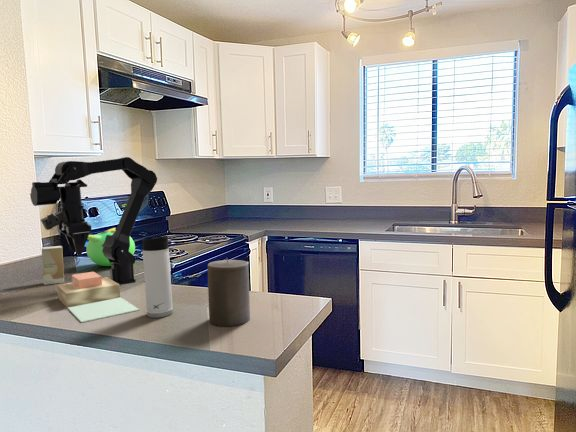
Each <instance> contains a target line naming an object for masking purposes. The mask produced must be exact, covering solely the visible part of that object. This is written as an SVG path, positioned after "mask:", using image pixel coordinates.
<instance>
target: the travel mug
mask: <svg viewBox="0 0 576 432" xmlns="http://www.w3.org/2000/svg"><path fill="white" fill-rule="evenodd" d="M141 241H142V243H141V244H142V257H143V259H142V260H143V274H144V288H145V290H144V291H145V303H146V304H145V305H146V316H147V317H148V318H153V319H154V318H155V319H159V318H165V317H169V316H171V315H172V314H173V312H174V310H173V295H172V279H171V277H172V276H171V262H170V259H171V258H170V247H169V236H168V235H161V236H157V237H151V238H150V239H148V238H147V239H146V238H145V239H142V240H141Z"/></svg>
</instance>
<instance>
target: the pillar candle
mask: <svg viewBox="0 0 576 432" xmlns="http://www.w3.org/2000/svg"><path fill="white" fill-rule="evenodd" d="M249 277H250V273H249V261H245V260H241V259H240V260H239V259H228V257H226V259H223V260H215V261H211V262H209V263H208V264H207V294H208V316H209V323H210V324H211V325H213V326H218V327H224V328H225V327H236V326H239V325H243V324H246V323H248V322H249V321H250V320H251V306H250V302H251V301H250V278H249Z"/></svg>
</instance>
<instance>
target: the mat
mask: <svg viewBox="0 0 576 432" xmlns="http://www.w3.org/2000/svg"><path fill="white" fill-rule="evenodd" d="M67 310H69V312H70V313H71V314H72V315H74V317H75V318H76V319H77V320H78V321H79V322H80V323H81V324H82V323H86V322H92V321H97V320H101V319H102V320H103V319H107V318H110V317H115V316H120V315H124V314H129V313H134V312H138V311H140V308H138V307H136V306H135V305H134V304H132V303H130V302H129V301H127V300H126V299H124V298H122V297H121V296H120V298H114V299H109V300H104V301H99V302H94V303H88V304H83V305H78V306H73V307H68V308H67Z"/></svg>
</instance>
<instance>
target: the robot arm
mask: <svg viewBox="0 0 576 432" xmlns="http://www.w3.org/2000/svg"><path fill="white" fill-rule="evenodd" d="M120 170H121V171H123V173H125V175H126V176H127V177H128V178H129V179H130V180H131V183H130V190H131V191H130V195H129V198H128V200H127V202H126V203H125V204H126V206H125V207H124V209H123V212H122V215H121V217H120V219H119V222H118V224H117V227H116V229H115V230H114V231H115V233H114V234H113V235H112V236H111V235H107V236H106V239H105V242H104V244H103V245H102V247H103V250H102V252H103V254H104V256H105V257H106V258H108V260H109V262H110V263H114V264H111V266H110V267H111V268H109V276H110V278H109V279H111V280H113V281H115V282H116V283H118V284H119V285H120V284H128V283H133V282H137V279H135V273H134V265H135V264H136V260H137V256H135V254H131V253H130V252H129V247H130V237H131V234H132V232H133V229H134V226H135V224H136V221H137V219H138V216H139V213H140V211H141V208H142V206H143V203H144V201H145V199H146V197H147V196H148V194H150V193H151V192H152V191H153V189H155V186H156V184H157V181H158V177H157V174H156V173H155V171H153V170H151V169H148V168H147V167H145V166H143V164H140V163H139V162H136V161H135V160H134V159H133V158H131V157H129V156H123V157H119V158H115V159H113V158H112V159H106V160H98V161H90V162H89V161H79V160H78V161H75V160H70V161H69V160H68V161H67V160H66V161H61V162H59V163H57V164H56V166H55V167H54V173H53V175H52V177H51V178H50V179H49V180H48V182H39V181H38V182H37V181H35V182H34V181H33V182H31V189H30V194H29V195H30V201H31V204H32V206H34V207H36V206H37V207H38V206H47V205H49V206H50V205H56V204H57V203H58V202H59V201H60V206H59V207H58V211H57V212H55V213H51V214H47V215H46V216H45V217H42V218H41V219H40V221H41V224H42V226H43V227H44V229H45V230H46V231H49V230H52V229H53V228H54V227H57V229H58V231H59V232H60V233H61V234H64V235H65V238H66V241H67V243H68V246H69V249H70V251H71V253H72V252H75V253H76V255H77V256H82V254H83V252H84V248H85V245H86V243H87V240H88V239H87V238H88V236H89V235H91V232H92V230H93V229H92V225H91V223H89V222H88V221H86V219H85V218H84V213H83V210H84V208H85V207H84V205H83V203H82V193H81V192H82V191H81V188H87V187H88V184H87V183H85V182H84V181H83V180H82V179H81V178H85V177H87V176H90V175H92V174H100V173H106V172H113V171H120ZM70 181H71V182H70ZM59 185H60V186H59ZM61 185H63V186H61Z"/></svg>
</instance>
